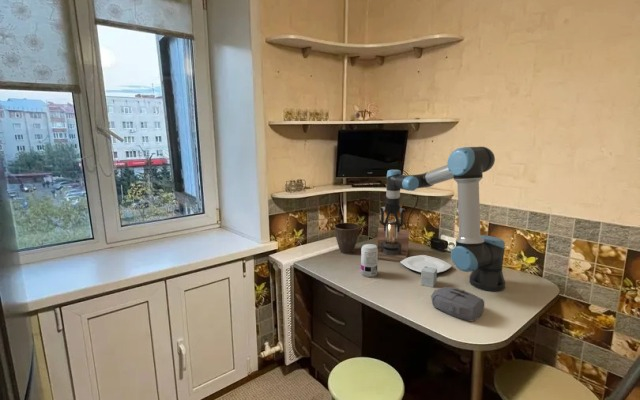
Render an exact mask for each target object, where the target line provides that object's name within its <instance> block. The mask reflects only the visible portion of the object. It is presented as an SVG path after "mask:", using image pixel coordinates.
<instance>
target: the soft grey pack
mask: <svg viewBox="0 0 640 400" xmlns="http://www.w3.org/2000/svg"><path fill="white" fill-rule="evenodd" d="M430 299H431V301H432V305H433V308H436V309H438V310H439V311H441V312H442V313H445V314H447V315H449V316H450V317H451V316H452V317H455V318H458V319H460V320H464V321H467V322H468V321H469V322H475V321H476V320H478V319H480V317H481V315H482V314H483V312H484V310H485V301H484V299H483V298H481V297H479V296H478V295H475V294H473V293H471V292H468V291H466V290H465V289H460V288H456V287H448V286H443V287H441V288H438V289H435V290H434V291H433V292H432V294H431V295H430Z"/></svg>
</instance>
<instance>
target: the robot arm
mask: <svg viewBox="0 0 640 400" xmlns="http://www.w3.org/2000/svg"><path fill="white" fill-rule="evenodd" d="M495 161H496V158H495V154H494V152H493V150H491V149H490V148H488V147H487V146H464V147H459V148H456V149H454V150H453V151H452V152H451V153H450V154H449V156H448V158H447V163H446V165H442V166H440V167H437V168H434V169H432V170H429V171H427V172H424V173H420V174H419V173H418V174H410V175H406V174H404V175H403V174H402V171H401V170H400V169H389V170H387V173H386V193H385V195H386V198H385V205H384V206H381V208H380V211H381V214H380V225H381V226H383V228H384V231H386V237H387V227H388V223H387V221H389V217H390V214H392V215H394V218H395V221H396V222H397V224H396V238H397V236H398V232H399V231H400V229H401V227H403V226H404V215H405V214H404V213H405V210H406V209H405V208H402V207H401V205H400V203H401V199H400V197H401V189H402V190H405V191H415V190H417V189H423V188H430V187H433V186H435V185H436V184H441V183H443V182H446V181H449V180H452V179H453V180H454V181H455V182H456V184H457V185H456V186H457V203H458V204H457V206H458V209H457V210H458V234H459V235H458V237H457V238H456V239H455V246H454V247H453V248H452V249H451V252H450V259H451V262H452V263H453V265H454V266H455V267H456V268H457V269H458V270H460V271H462V272H466V273H469V272H471V273H470V275H469V280H468V281H469V284H470V285H471V286H473V287H475V288H477V289H479V290H481V291H485V292H486V291H488V292H500V291H503V290H504V289H505V286H506V281H505V277H504V274H503V265H504V257H505V249H506V247H505V245H506V243H505V241H504V240H503V239H502V238H499V237H495V236H491V235H482V234H481V213H480V211H481V209H480V204H481V203H480V181H481V180H482V179H483V174H484V173H486V172H488V171H489V170H491V169H492V168H493V167H494V165H495ZM385 210H386V211H387V214H386V217H385ZM399 211H400V212H401V213H400V219H399V215H398V212H399ZM384 218H385V219H384Z"/></svg>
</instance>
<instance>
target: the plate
mask: <svg viewBox="0 0 640 400" xmlns="http://www.w3.org/2000/svg"><path fill="white" fill-rule="evenodd" d="M399 263H400V264H401V265H403V266H404V267H406V268H407V269H409V270H412V271H414V272H418V273H420V274H421V270H422V269H423V268H424V267H425V266H426V267H431V268H436V269H437V274H440V273H444V272H445V271H448V270H449V269H451V267H452V264H451V263H448V262H446V261H445V260H442V259H440V258H437V257H434V256H429V255H425V254H420V255H413V256H409V257H408V256H407V258H406V259H404V260H402V261H401V262H399Z"/></svg>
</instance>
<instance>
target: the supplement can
mask: <svg viewBox="0 0 640 400" xmlns="http://www.w3.org/2000/svg"><path fill="white" fill-rule="evenodd" d="M377 247H378V245H376V244H374V243H373V244H372V243H365V244H363V245H362V246H361V248H360V249H361V250H360V252H361V253H360V273H361V275H362V276H364V277H365V278H366V277H367V278H371V277H372V278H373V277H376V276H377V274H378V261H379V260H378V249H377Z"/></svg>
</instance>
